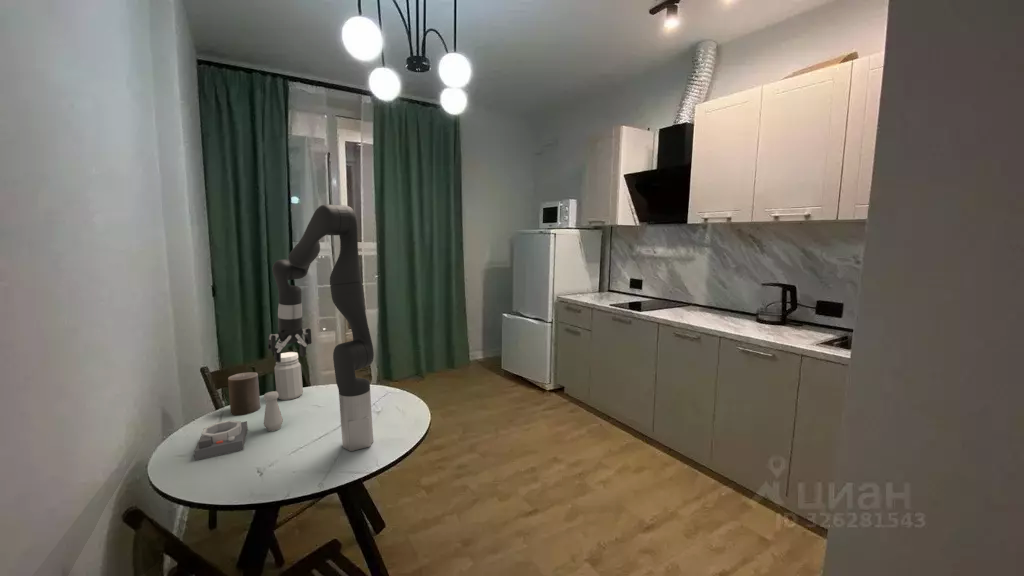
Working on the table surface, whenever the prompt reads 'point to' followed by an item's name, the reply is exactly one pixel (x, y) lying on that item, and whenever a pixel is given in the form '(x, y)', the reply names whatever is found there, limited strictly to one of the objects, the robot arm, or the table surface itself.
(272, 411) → the salt shaker
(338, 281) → the robot arm
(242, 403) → the pillar candle
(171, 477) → the table surface
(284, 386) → the jar
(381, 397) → the table surface
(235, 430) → the octagon ring base
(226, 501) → the table surface
